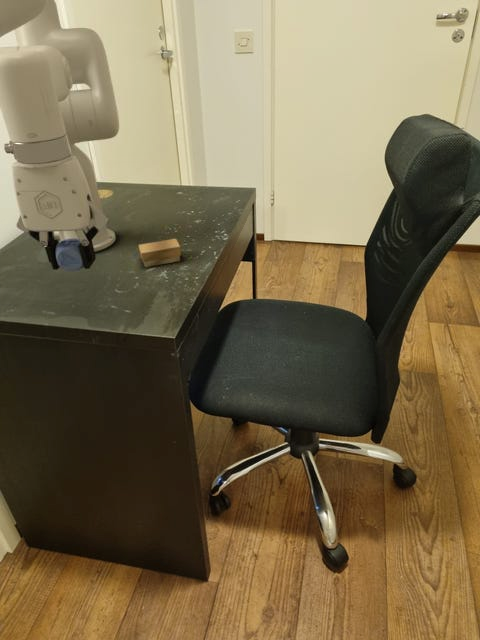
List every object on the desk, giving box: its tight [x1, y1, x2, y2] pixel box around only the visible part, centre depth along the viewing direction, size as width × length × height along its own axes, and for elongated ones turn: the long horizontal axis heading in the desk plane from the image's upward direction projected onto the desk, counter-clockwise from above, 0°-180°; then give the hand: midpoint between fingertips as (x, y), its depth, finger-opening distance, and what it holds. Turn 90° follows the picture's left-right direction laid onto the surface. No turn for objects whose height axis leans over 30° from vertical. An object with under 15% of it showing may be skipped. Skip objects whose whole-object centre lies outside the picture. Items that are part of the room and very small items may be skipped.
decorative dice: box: [56, 238, 85, 272], centre depth 76 cm, size 4×4×4 cm
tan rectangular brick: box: [138, 238, 182, 268], centre depth 98 cm, size 8×4×3 cm, turn 108°
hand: (74, 264), depth 77 cm, fingers closed on decorative dice, 4 cm apart
